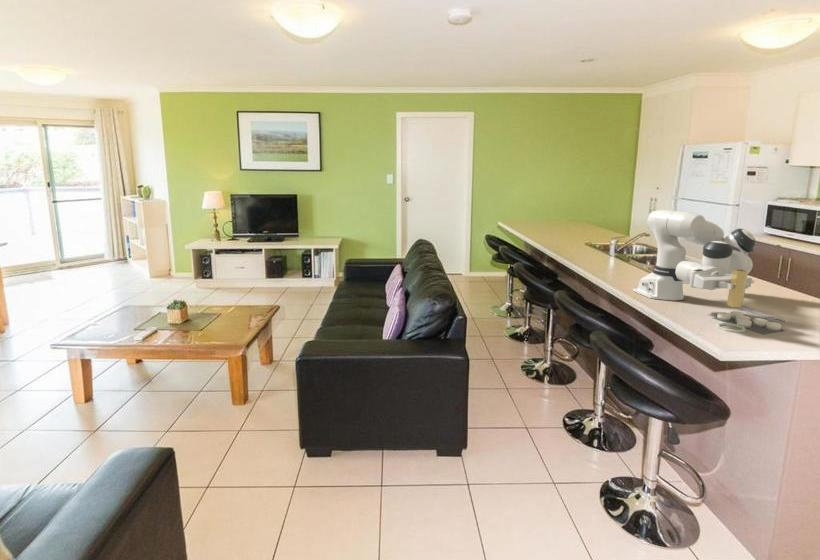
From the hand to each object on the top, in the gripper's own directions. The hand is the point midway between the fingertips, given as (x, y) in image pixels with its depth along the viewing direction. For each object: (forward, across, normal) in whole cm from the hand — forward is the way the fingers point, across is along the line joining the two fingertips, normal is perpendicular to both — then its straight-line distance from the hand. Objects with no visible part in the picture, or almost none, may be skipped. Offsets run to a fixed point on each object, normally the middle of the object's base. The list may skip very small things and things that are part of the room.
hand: (739, 286), depth 176 cm
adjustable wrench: (-15, -27, -17) cm, 35 cm away
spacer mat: (-4, -10, -17) cm, 20 cm away
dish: (-1, 0, -17) cm, 17 cm away
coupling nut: (-1, 0, -7) cm, 7 cm away
